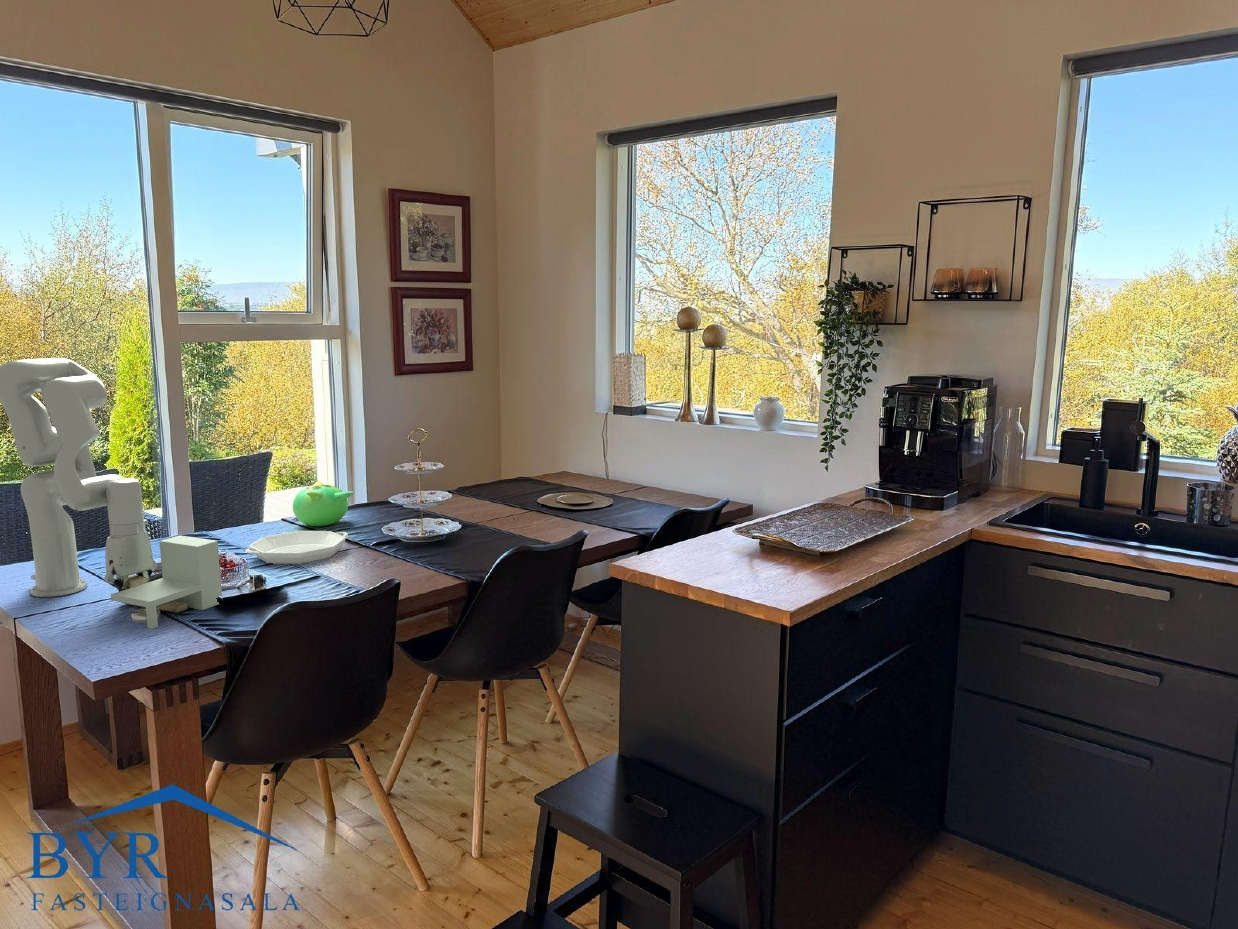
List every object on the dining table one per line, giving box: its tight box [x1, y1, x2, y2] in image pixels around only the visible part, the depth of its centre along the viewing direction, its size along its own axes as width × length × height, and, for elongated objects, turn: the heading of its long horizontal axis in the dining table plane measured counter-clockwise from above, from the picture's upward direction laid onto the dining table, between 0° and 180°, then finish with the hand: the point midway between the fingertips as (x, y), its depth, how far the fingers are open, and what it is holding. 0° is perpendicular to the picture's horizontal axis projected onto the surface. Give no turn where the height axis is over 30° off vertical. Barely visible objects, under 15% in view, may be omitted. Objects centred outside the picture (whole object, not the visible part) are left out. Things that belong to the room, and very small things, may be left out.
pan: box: [244, 530, 349, 565], centre depth 264 cm, size 31×26×4 cm
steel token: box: [130, 607, 161, 625], centre depth 209 cm, size 6×6×2 cm
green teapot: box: [292, 480, 355, 527], centre depth 298 cm, size 18×17×15 cm
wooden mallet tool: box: [119, 574, 188, 613], centre depth 216 cm, size 19×4×6 cm, turn 66°
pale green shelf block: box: [110, 535, 223, 630], centre depth 213 cm, size 13×20×16 cm, turn 156°
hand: (134, 599), depth 219 cm, fingers closed on wooden mallet tool, 4 cm apart
